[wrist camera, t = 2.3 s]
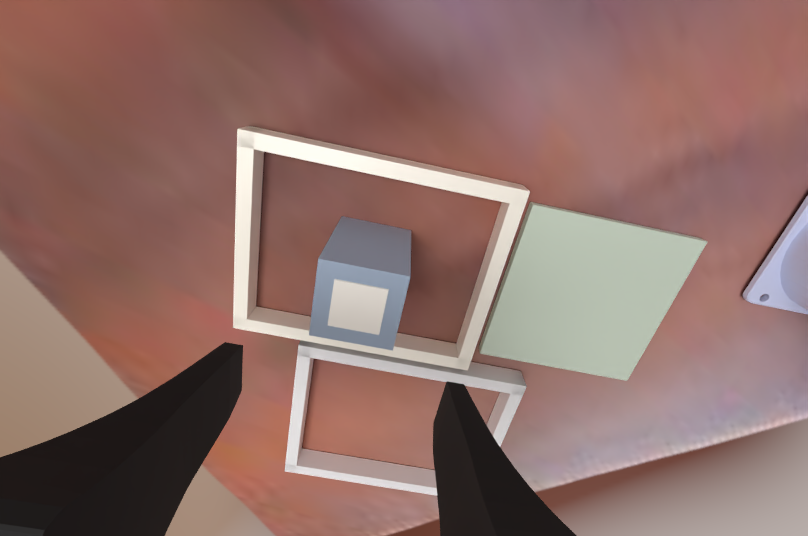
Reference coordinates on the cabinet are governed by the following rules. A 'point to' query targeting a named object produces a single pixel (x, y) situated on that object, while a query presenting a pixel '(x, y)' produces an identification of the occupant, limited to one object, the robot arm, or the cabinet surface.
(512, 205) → the cream rectangular frame
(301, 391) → the grey rectangular frame
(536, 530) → the robot arm
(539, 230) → the green mat
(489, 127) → the cabinet surface
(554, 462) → the cabinet surface
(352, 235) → the slate block
